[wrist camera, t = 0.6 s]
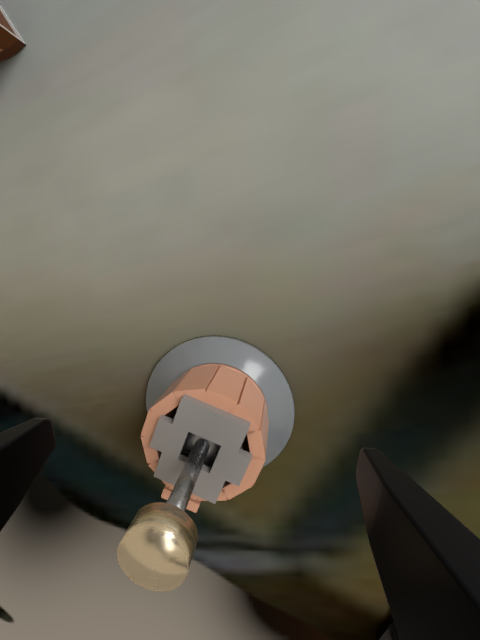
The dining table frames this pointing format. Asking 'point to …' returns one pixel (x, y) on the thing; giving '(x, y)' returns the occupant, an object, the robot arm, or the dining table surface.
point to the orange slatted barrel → (209, 431)
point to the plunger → (166, 527)
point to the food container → (8, 37)
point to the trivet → (243, 359)
